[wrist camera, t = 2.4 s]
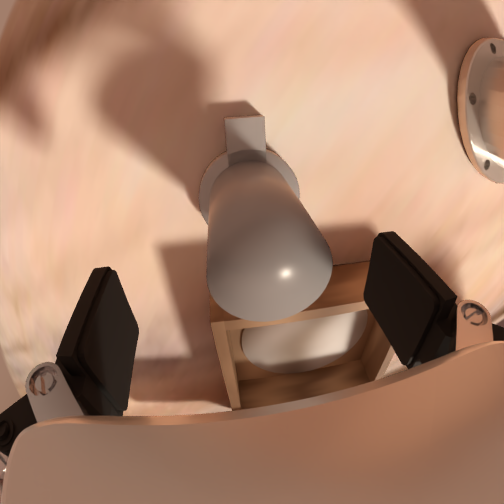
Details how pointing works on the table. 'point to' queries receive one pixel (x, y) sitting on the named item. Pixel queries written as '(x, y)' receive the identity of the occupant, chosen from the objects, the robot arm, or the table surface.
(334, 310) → the housing
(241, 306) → the grey cylinder
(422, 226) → the table surface
